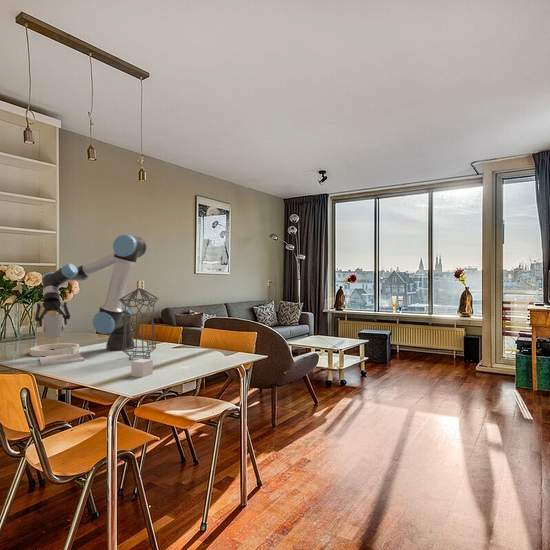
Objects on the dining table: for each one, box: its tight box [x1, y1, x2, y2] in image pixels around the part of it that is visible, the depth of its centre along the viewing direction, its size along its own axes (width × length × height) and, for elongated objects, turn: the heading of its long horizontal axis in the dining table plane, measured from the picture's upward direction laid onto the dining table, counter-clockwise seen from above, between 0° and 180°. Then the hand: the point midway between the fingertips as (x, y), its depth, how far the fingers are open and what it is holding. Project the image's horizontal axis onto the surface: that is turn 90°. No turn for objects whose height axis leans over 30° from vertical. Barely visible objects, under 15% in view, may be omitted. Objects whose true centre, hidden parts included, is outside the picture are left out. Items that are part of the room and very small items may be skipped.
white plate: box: [29, 342, 80, 357], centre depth 221 cm, size 23×23×3 cm
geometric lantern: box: [119, 287, 160, 361], centre depth 202 cm, size 16×16×35 cm
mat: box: [38, 352, 85, 366], centre depth 200 cm, size 18×18×1 cm
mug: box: [43, 313, 64, 339], centre depth 206 cm, size 12×8×11 cm
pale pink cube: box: [130, 358, 154, 378], centre depth 168 cm, size 6×6×6 cm
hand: (53, 329), depth 204 cm, fingers closed on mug, 8 cm apart
